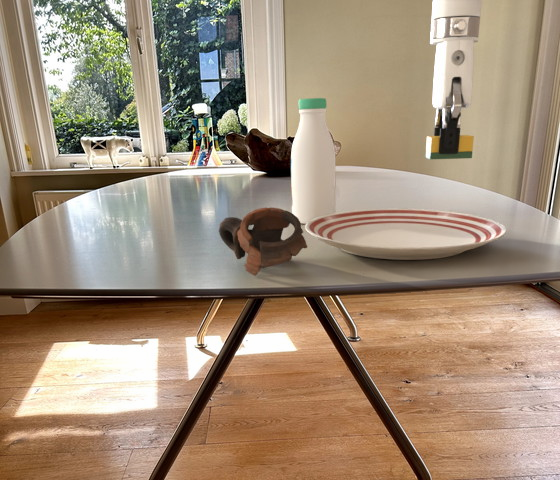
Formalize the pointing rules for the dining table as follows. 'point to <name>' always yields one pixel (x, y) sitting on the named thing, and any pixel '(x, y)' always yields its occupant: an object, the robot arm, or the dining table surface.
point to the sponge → (463, 152)
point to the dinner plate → (404, 232)
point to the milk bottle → (313, 164)
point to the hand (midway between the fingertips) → (445, 151)
